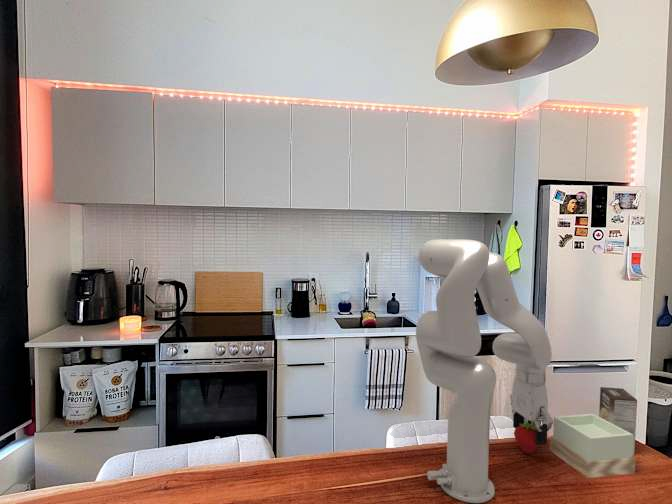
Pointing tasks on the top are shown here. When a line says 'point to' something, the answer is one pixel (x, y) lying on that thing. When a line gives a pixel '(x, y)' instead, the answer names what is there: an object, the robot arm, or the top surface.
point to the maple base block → (594, 467)
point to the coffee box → (619, 409)
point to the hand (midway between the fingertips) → (529, 435)
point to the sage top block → (593, 437)
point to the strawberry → (526, 437)
